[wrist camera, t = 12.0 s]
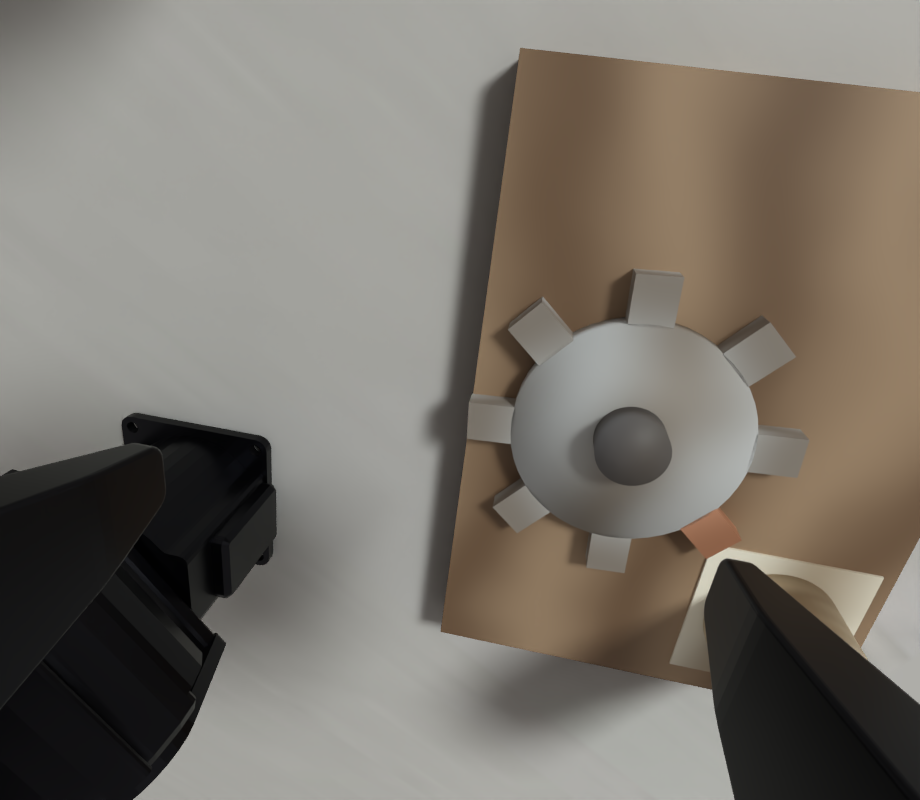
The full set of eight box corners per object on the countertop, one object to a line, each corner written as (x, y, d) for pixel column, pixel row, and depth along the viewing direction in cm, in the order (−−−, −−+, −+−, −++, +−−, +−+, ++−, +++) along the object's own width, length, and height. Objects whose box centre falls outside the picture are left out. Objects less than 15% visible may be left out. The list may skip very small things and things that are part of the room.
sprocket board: (445, 606, 27) (431, 664, 24) (522, 55, 18) (514, 37, 15) (811, 683, 25) (844, 755, 22) (1096, 120, 16) (1216, 113, 13)
